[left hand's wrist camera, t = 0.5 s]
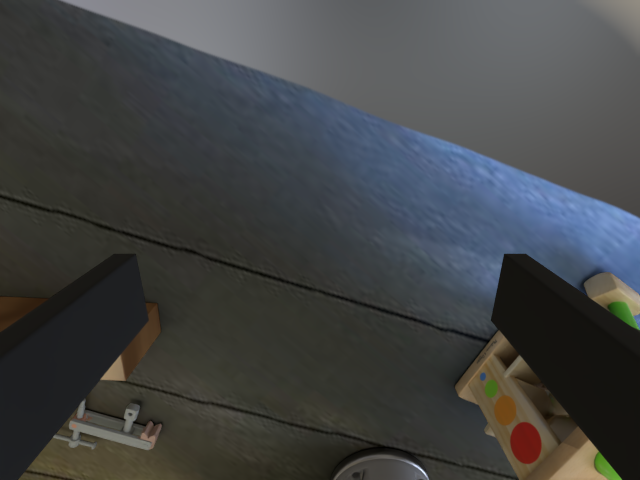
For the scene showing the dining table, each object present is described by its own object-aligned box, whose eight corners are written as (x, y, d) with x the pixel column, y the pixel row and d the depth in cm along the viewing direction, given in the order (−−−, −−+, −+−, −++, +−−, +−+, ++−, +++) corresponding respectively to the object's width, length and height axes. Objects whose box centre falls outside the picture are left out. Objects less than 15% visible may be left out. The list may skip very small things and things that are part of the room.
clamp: (160, 422, 46) (145, 471, 50) (167, 409, 49) (152, 456, 52) (44, 389, 45) (36, 442, 48) (57, 377, 47) (48, 428, 50)
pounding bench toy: (561, 247, 40) (735, 345, 23) (654, 294, 42) (875, 415, 25) (452, 388, 47) (524, 540, 30) (536, 422, 49) (647, 582, 33)
